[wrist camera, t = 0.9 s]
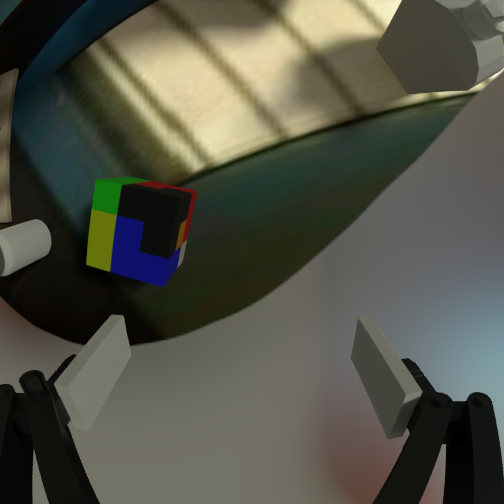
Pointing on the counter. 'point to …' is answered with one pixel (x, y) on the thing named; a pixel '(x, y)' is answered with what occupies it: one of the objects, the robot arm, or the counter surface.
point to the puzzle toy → (139, 228)
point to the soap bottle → (444, 44)
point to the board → (6, 139)
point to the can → (23, 245)
